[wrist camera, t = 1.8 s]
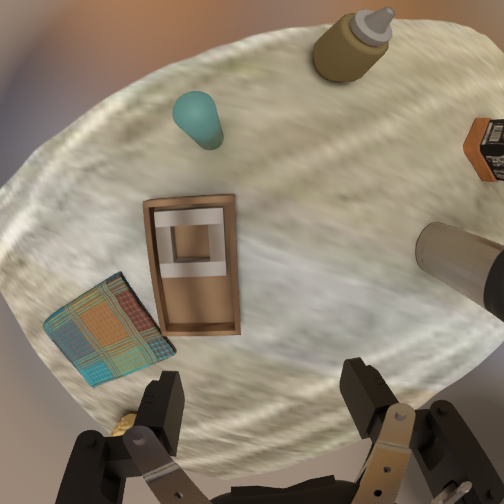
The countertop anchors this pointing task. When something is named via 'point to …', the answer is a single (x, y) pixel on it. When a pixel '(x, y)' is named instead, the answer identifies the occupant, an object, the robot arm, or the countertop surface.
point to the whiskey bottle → (486, 148)
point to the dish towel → (108, 333)
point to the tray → (195, 291)
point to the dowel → (199, 119)
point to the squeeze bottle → (353, 44)
